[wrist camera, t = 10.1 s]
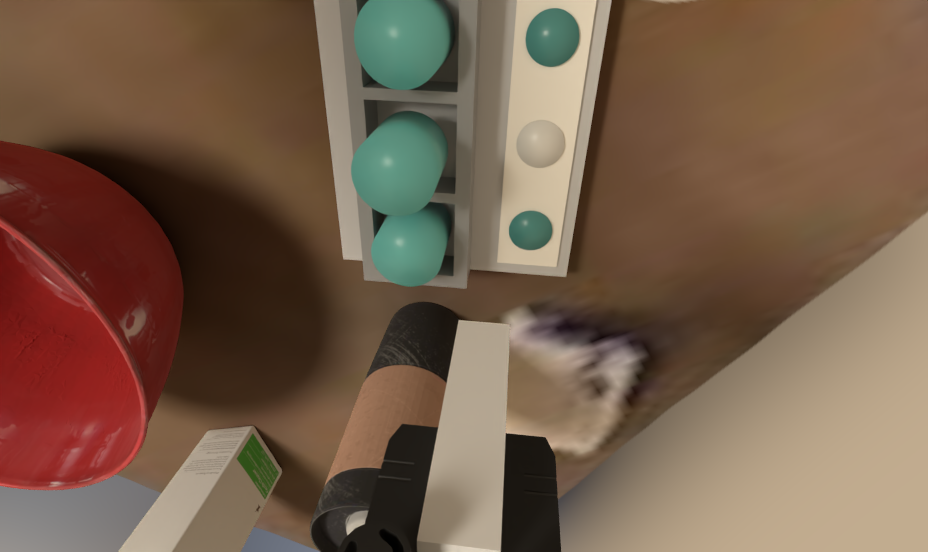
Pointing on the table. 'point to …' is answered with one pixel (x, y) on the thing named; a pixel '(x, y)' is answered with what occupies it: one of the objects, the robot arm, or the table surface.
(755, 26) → the table surface
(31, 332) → the mixing bowl
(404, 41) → the button
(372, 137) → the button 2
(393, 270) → the button
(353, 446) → the travel mug
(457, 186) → the button panel
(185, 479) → the skincare box
